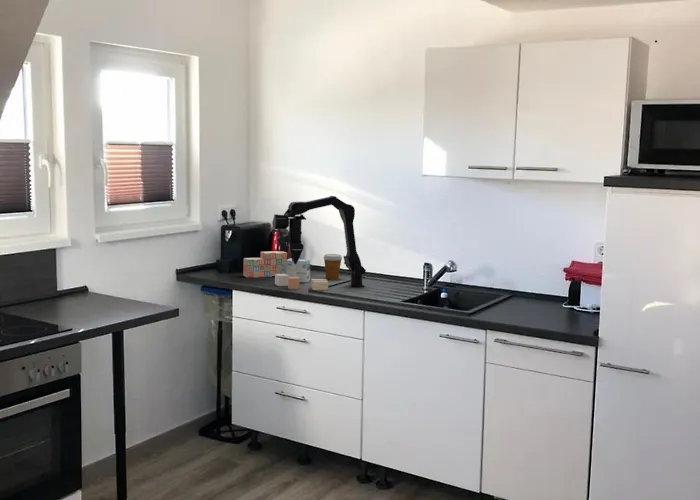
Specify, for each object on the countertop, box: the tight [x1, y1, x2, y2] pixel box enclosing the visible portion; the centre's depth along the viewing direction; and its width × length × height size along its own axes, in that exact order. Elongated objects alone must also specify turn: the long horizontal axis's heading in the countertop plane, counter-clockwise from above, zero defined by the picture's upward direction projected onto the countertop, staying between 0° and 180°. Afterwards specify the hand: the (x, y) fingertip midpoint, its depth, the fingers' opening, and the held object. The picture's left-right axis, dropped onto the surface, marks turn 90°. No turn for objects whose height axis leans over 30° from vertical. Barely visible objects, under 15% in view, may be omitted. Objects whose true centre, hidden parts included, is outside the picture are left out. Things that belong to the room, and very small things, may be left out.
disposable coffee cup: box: [323, 253, 343, 281], centre depth 388 cm, size 10×10×12 cm
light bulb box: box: [286, 258, 311, 283], centre depth 378 cm, size 11×7×11 cm, turn 80°
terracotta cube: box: [287, 277, 301, 290], centre depth 359 cm, size 5×5×5 cm
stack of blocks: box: [242, 250, 288, 279], centre depth 390 cm, size 21×6×12 cm, turn 116°
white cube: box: [274, 274, 289, 287], centre depth 366 cm, size 5×5×5 cm
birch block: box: [310, 278, 329, 291], centre depth 359 cm, size 7×7×4 cm
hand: (294, 262), depth 358 cm, fingers open, 9 cm apart
